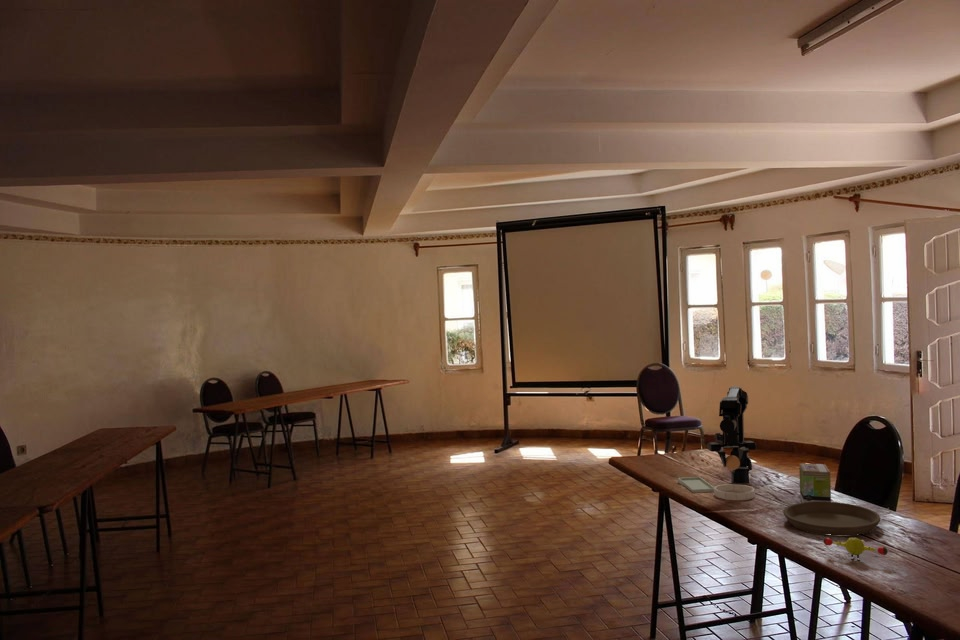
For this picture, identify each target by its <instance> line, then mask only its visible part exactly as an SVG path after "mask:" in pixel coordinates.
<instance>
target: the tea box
mask: <svg viewBox="0 0 960 640" xmlns="http://www.w3.org/2000/svg"><path fill="white" fill-rule="evenodd" d="M798 467H799V498H800V501H801V502H800V503H803V502H832V489H831V487H832V486H831V471H830V469H829V468H828V466H827V465H826V463H824V464H823V463H799V466H798Z"/></svg>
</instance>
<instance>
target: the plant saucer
mask: <svg viewBox="0 0 960 640" xmlns="http://www.w3.org/2000/svg"><path fill="white" fill-rule="evenodd" d="M782 513H783V516H784V517H785V519H786V520H787V521H788V522H790V524H791V525H792V526H793V527H794V528H796V529H798V528H799V530H801V531H803V530H804V532H807V531H808V532H807V533H810V532H812V534H815V533H817V534H816V535H821V534H831V535H857V534H863V533H867V532H869V533H871V532H872V531H873V530H874V529H875V528H876V527H877V526H878V525H879V524H880V522H881V516H880V515H879V513H877V512H876V511H875V510H872V509H869V508H866V507H863V506H860V505H857V504H856V505H855V504H850V503H845V502H838V501H837V502H835V501H831V502H803V503H802V502H797V503H794V504H790V505H788V506H786V507H784V509H783V510H782ZM870 531H871V532H870ZM867 534H868V533H867ZM863 535H864V534H863Z"/></svg>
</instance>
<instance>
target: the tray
mask: <svg viewBox="0 0 960 640" xmlns="http://www.w3.org/2000/svg"><path fill="white" fill-rule="evenodd" d="M677 482H678V484H680V485H681V486H684V487H685V488H687V489H688V490H689V491H690V492H691V493H694V494H695V493H711V492H712V493H714V487H715V486H714V485H712V484H711V483H709V482H708V481H706V480H705V479H704V478H702V477H701V476H691V477H690V476H688V477H687V476H686V477H677Z"/></svg>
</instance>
